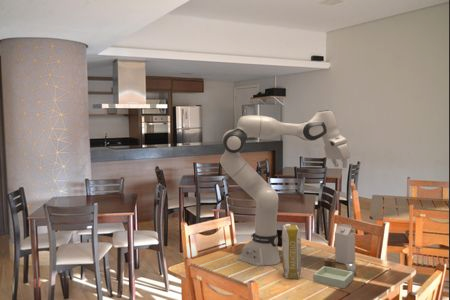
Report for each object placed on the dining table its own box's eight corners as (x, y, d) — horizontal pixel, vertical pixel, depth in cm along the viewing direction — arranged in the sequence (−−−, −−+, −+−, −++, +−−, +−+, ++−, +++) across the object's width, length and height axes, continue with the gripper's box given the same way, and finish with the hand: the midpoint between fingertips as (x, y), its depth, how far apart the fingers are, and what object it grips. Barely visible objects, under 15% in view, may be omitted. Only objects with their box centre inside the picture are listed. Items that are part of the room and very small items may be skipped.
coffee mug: (273, 247, 226) (272, 229, 226) (273, 242, 235) (273, 226, 234) (293, 247, 224) (293, 230, 224) (293, 243, 233) (293, 226, 232)
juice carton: (282, 271, 188) (281, 222, 187) (298, 271, 188) (298, 221, 186) (284, 279, 179) (283, 227, 177) (302, 279, 179) (301, 226, 177)
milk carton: (342, 258, 205) (342, 222, 204) (355, 261, 200) (354, 224, 199) (335, 261, 200) (334, 224, 199) (348, 265, 195) (347, 227, 194)
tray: (313, 281, 176) (313, 274, 176) (323, 272, 186) (323, 265, 186) (344, 288, 168) (344, 280, 168) (353, 279, 177) (353, 271, 177)
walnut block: (324, 270, 189) (324, 260, 188) (327, 268, 192) (327, 257, 192) (332, 272, 186) (332, 261, 186) (335, 269, 190) (335, 259, 189)
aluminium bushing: (344, 274, 183) (344, 264, 182) (347, 271, 186) (347, 261, 186) (353, 276, 180) (353, 266, 180) (357, 273, 184) (357, 263, 183)
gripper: (319, 143, 208) (326, 168, 209) (336, 142, 188) (344, 170, 189) (329, 139, 209) (337, 164, 210) (347, 138, 189) (356, 166, 190)
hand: (341, 167), depth 199 cm, fingers open, 8 cm apart
